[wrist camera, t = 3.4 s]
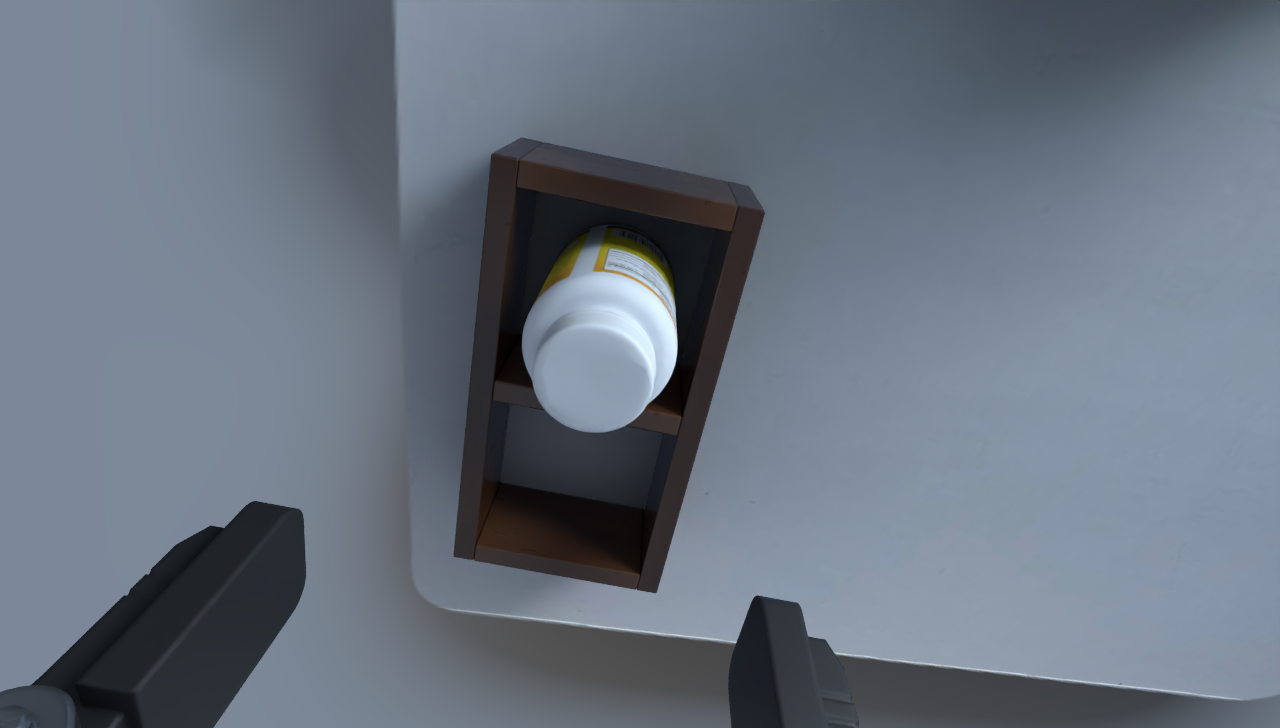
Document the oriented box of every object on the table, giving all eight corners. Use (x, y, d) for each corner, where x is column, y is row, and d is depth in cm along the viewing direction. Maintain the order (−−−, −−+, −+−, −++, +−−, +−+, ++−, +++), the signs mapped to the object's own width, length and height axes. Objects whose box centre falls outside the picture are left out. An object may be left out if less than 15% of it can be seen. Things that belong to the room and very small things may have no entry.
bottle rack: (480, 493, 35) (452, 557, 31) (520, 137, 27) (491, 152, 23) (657, 526, 36) (656, 593, 31) (749, 186, 28) (765, 211, 23)
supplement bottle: (564, 340, 31) (522, 460, 22) (545, 227, 29) (488, 307, 20) (679, 330, 31) (685, 449, 21) (669, 215, 28) (671, 291, 19)
